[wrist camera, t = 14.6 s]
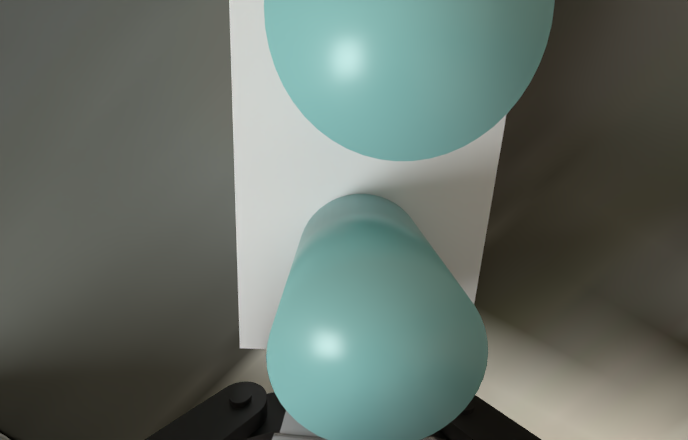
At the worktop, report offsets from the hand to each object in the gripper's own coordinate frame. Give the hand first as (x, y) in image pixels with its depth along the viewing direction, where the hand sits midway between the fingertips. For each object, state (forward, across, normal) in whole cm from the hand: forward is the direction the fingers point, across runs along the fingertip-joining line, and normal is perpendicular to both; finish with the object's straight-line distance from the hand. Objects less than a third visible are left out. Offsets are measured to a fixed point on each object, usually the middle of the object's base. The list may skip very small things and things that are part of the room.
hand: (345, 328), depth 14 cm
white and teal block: (+1, 0, -9) cm, 9 cm away
